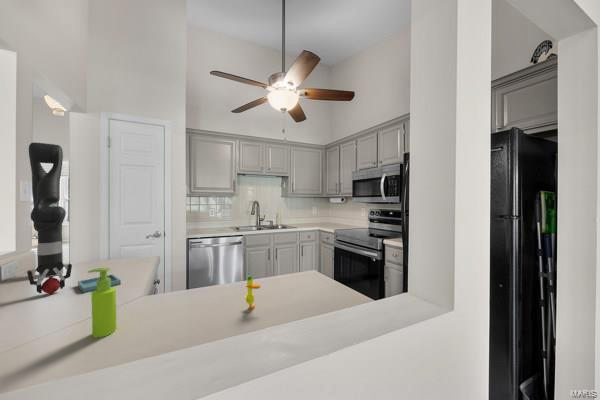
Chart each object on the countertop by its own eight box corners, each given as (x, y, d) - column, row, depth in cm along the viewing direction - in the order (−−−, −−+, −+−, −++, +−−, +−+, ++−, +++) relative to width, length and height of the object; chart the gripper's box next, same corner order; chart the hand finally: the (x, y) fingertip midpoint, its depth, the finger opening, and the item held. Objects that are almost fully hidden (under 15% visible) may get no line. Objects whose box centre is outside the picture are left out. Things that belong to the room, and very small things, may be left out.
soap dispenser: (98, 328, 79) (96, 266, 79) (120, 326, 80) (119, 265, 79) (83, 338, 73) (81, 272, 73) (108, 337, 74) (106, 271, 73)
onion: (64, 291, 110) (63, 274, 110) (50, 297, 104) (49, 278, 104) (52, 291, 110) (52, 273, 110) (37, 296, 105) (37, 278, 104)
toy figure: (262, 306, 93) (261, 275, 93) (258, 310, 90) (258, 278, 89) (245, 304, 95) (245, 274, 94) (241, 309, 91) (241, 277, 91)
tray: (77, 286, 117) (77, 281, 117) (113, 278, 127) (112, 274, 127) (83, 293, 108) (83, 288, 108) (120, 284, 118) (120, 279, 118)
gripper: (71, 248, 115) (72, 284, 115) (24, 254, 104) (26, 293, 104) (73, 250, 110) (74, 287, 110) (25, 256, 99) (26, 298, 99)
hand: (51, 290), depth 107 cm, fingers closed on onion, 6 cm apart
